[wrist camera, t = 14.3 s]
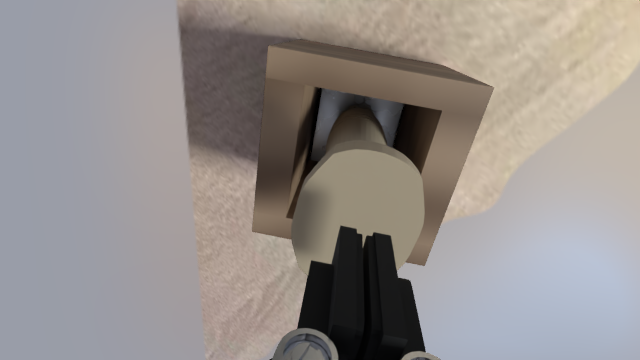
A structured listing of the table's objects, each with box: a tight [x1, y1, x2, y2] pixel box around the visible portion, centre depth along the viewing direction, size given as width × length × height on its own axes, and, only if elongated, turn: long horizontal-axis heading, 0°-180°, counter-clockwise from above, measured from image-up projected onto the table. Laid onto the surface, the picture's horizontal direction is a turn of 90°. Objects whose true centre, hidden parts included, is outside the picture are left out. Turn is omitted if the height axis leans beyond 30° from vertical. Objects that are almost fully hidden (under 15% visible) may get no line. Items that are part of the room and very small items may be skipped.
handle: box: [291, 105, 425, 276], centre depth 19 cm, size 5×6×15 cm
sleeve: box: [252, 39, 494, 266], centre depth 22 cm, size 11×11×10 cm
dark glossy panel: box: [311, 88, 404, 161], centre depth 27 cm, size 7×6×1 cm
